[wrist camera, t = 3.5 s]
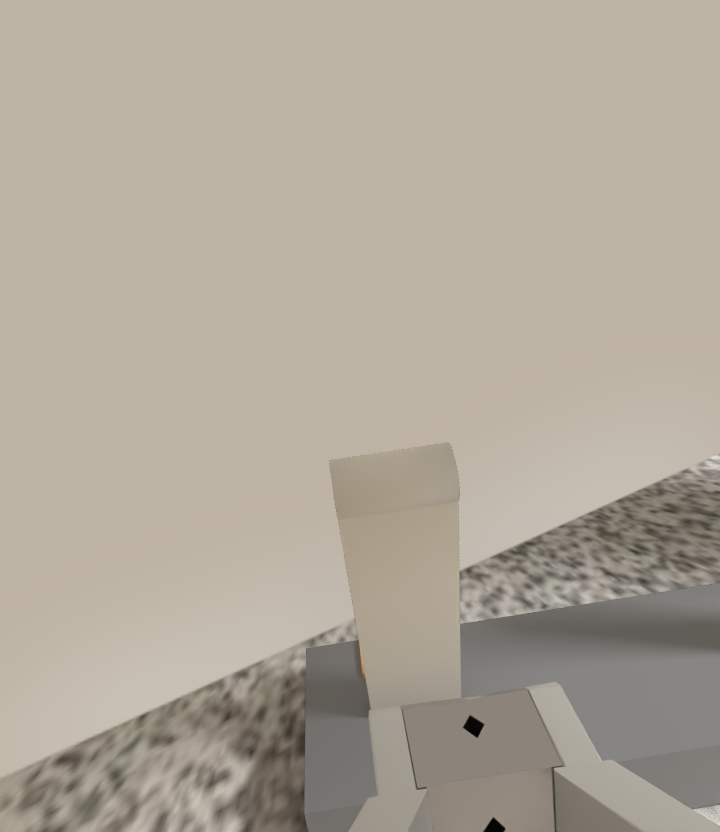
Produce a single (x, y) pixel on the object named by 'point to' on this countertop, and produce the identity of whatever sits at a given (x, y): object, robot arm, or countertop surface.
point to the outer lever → (403, 570)
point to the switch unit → (544, 663)
